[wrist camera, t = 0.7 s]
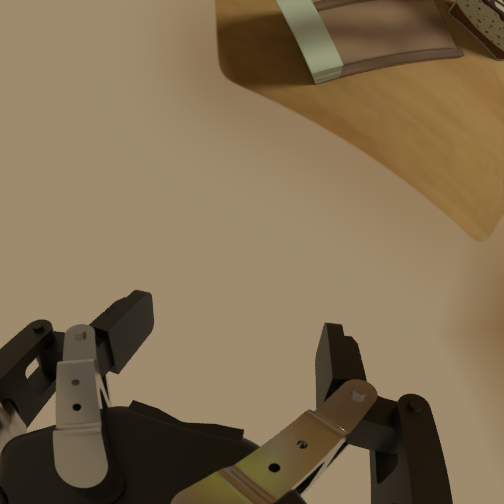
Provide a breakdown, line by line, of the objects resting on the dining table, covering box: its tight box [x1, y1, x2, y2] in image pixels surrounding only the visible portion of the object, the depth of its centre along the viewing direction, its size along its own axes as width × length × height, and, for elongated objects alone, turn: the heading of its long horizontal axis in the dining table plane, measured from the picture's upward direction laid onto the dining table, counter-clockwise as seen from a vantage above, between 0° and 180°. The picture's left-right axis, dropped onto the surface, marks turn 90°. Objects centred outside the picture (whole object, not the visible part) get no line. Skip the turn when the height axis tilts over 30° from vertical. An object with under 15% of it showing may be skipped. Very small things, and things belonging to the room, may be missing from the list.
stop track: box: [276, 0, 464, 85], centre depth 19 cm, size 10×20×9 cm, turn 112°
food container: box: [447, 0, 504, 61], centre depth 12 cm, size 12×6×10 cm, turn 60°
